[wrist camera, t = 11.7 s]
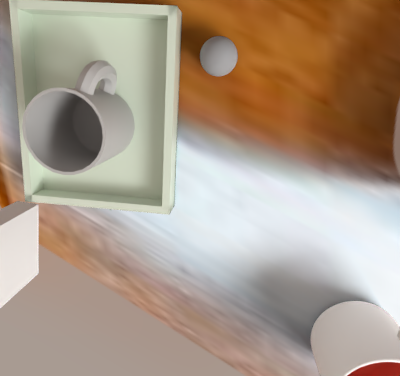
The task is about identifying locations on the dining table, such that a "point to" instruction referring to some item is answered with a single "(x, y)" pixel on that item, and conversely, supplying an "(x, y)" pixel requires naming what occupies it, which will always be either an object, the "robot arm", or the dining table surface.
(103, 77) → the cup
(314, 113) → the dining table surface
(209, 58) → the mixing ball
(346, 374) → the cup
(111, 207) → the tray
